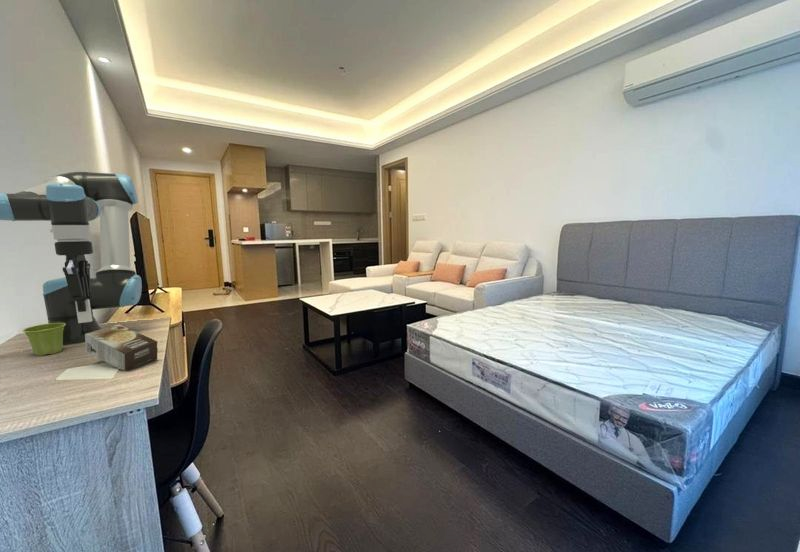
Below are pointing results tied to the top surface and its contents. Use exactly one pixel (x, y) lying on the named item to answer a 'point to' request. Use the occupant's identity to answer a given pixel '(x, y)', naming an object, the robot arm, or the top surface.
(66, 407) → the top surface
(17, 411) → the top surface
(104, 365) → the cream flat rectangular sheet
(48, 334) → the plant pot
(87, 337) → the coffee box
